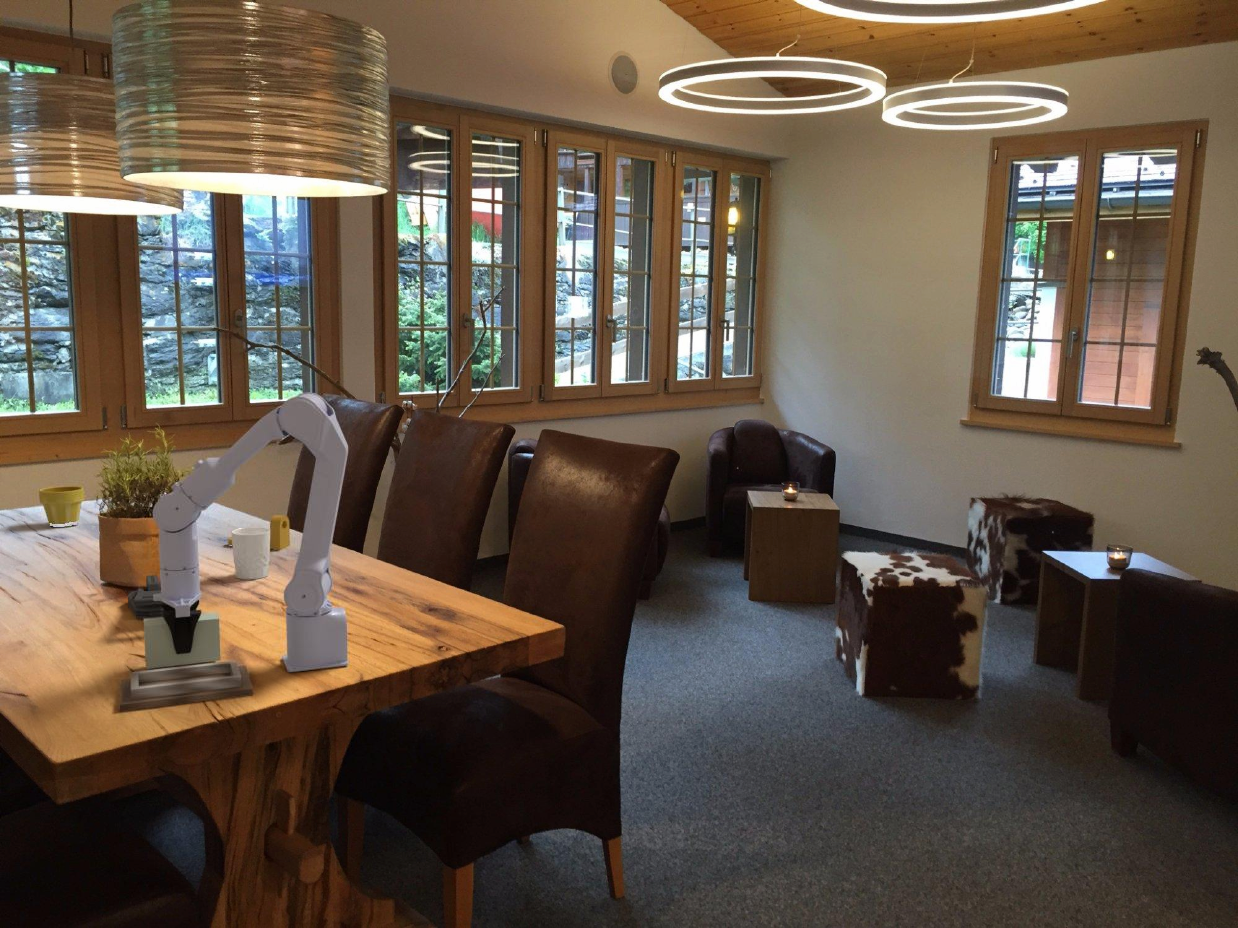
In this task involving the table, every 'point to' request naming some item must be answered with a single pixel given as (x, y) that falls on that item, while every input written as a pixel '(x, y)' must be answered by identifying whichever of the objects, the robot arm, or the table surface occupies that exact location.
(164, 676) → the plate
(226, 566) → the table surface
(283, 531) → the bracket
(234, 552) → the white cup
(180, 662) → the pale green block
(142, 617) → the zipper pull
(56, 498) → the plant pot
